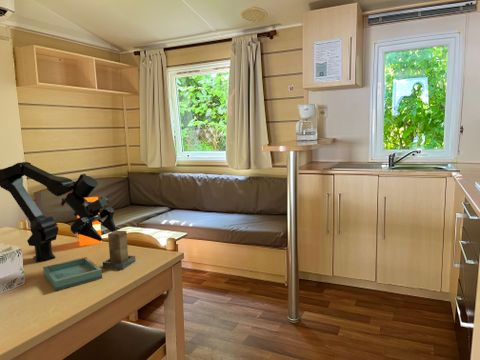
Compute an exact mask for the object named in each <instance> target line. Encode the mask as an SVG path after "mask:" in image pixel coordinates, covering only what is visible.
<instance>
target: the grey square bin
mask: <svg viewBox="0 0 480 360" xmlns="http://www.w3.org/2000/svg"><path fill="white" fill-rule="evenodd" d="M135 262H136V255H129V254H128V260H126V261H124V262H123V263H116V262H110V257H109V258H107V259H106V260H104V261H102V268H103V269H113V270H114V269H115V270H125V269H126V268H127V267H128V268H129V266H131V265H132V264H133V263H135Z"/></svg>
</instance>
